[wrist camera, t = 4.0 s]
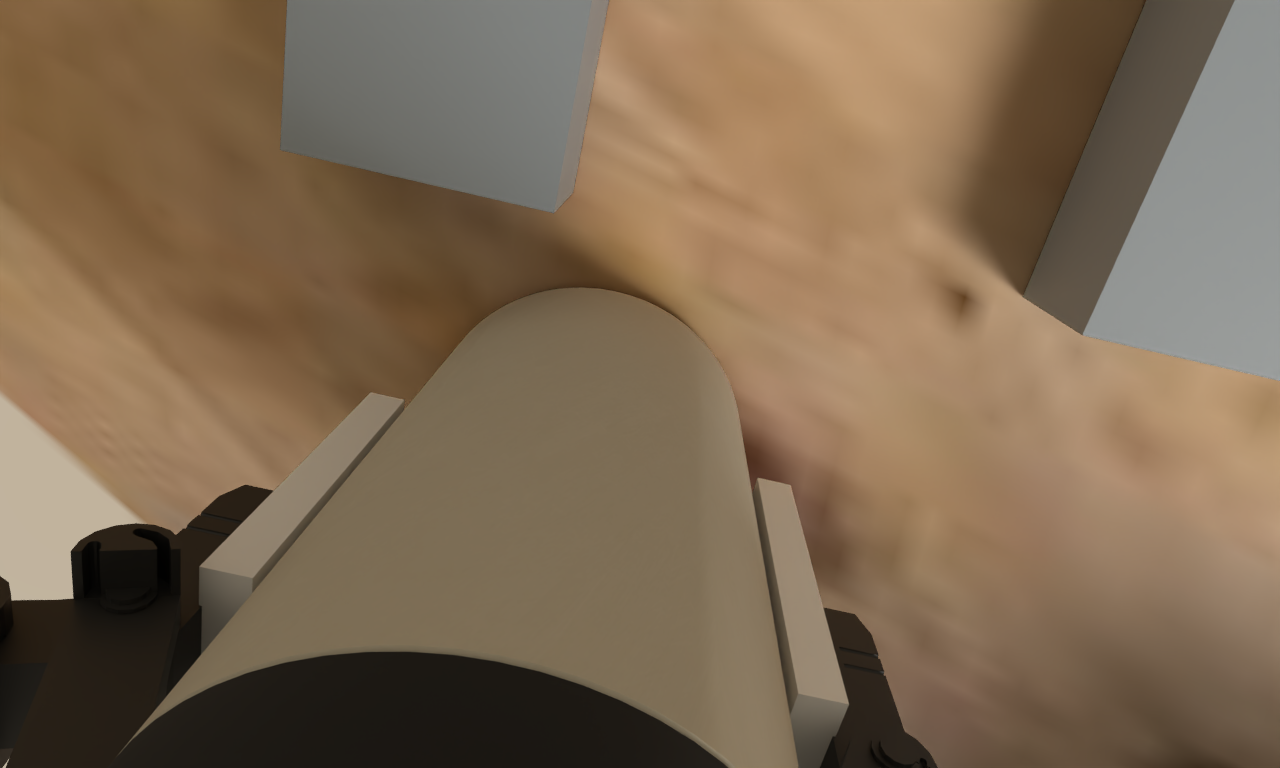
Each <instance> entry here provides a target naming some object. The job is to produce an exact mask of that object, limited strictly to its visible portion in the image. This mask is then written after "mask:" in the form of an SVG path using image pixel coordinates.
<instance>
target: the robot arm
mask: <svg viewBox="0 0 1280 768" xmlns="http://www.w3.org/2000/svg"><path fill="white" fill-rule="evenodd" d="M404 403H405V400H404V399H399V398H395V397H390V396H386V395H381V394H377V393H372V392H370V393H369V394H368V395H367V396H366V398H365V399H364V400H363V401H362V402H361V403H360V404H359V405H358V406H357V407H356V408H355V409H354V410H353V411H352V412H351V413H350V414H349V415H348V416H347V417H346V418H345V419H344V420H343V421H342V422H341V423H340V424H339V425H338V426H337V427H336V428H335V429H334V430H333V431H332V432H331V433H330V434H329V435H328V436H327V437H326V438H325V439H324V440H323V441H322V442H321V443H320V444H319V445H318V446H317V447H316V448H315V449H314V450H313V451H312V452H311V453H310V455H309V456H308V457H307V458H306V459H305V460H304V461H303V462H302V463H301V464H300V465H299V466H298V467H297V468H296V469H295V470H294V471H293V472H292V473H291V474H290V475H289V476H288V477H287V478H286V479H285V480H284V481H283V482H282V483H281V484H280V485H279V486H278V487H277V488H276V489H275V490H274V491H272V490H268V489H263V488H258V487H254V486H249V485H244V486H241V487H239V488H237V489H234V490H232V491H230V492H228V493H225V494H223V495H221V496H219V497H218V498H217V499H215V500H214V501H213V502H212V503H211V504H210V505H209V506H208V507H207V508H206V509H204V510H203V511H202V513H201V515H198V516H197V517H196V518H195V519H193V520H192V521H191V522H190V523H189V524H188V525H187V528H186V529H182V530H181V531H180V532H179V533H178V534H177V535H175V534H174V533H173V532H172V531H171V530H168V529H165V528H162V527H159V526H156V525H148V524H137V523H136V524H127V525H118V526H113V527H109V528H106V529H103V530H99V531H96V532H94V533H92V534H91V535H89V536H87V537H85V538H84V539H82V540H80V541H79V542H78V544H77V545H76V546H75V547H74V548H73V549H72V551H71V564H72V580H73V597H74V599H63V600H20V601H17V600H16V601H11V593H10V588H9V582H7V581H6V580H4V579H3V578H2V577H0V768H2V767H3V766H4V765H5V763H6V762H7V760H8V759H9V761H8V763H7V766H6V768H108V766H109V765H110V764H111V763H112V762H113V760H114V759H115V758H116V757H117V756H118V754H119V753H120V752H121V751H122V749H123V748H124V747H125V746H126V745H127V743H128V742H129V741H130V740H131V739H132V737H133V736H134V735H135V734H136V733H137V731H138V730H139V729H140V728H141V727H142V725H143V724H144V723H145V722H146V721H147V719H148V718H149V717H150V716H151V715H152V713H153V712H154V711H155V710H156V709H157V707H158V706H159V705H160V704H161V702H162V701H163V700H164V699H165V698H166V696H167V695H168V694H169V693H170V692H171V690H172V689H173V688H174V687H175V686H176V684H177V683H178V682H179V681H180V680H181V678H182V677H183V676H184V675H185V674H186V672H187V671H188V670H189V669H190V668H191V666H192V665H193V664H194V663H195V661H196V660H197V659H198V658H199V657H200V655H201V654H202V653H203V652H204V651H205V649H206V648H207V647H208V646H209V645H210V643H211V642H212V641H213V640H214V639H215V637H216V636H217V635H218V634H219V633H220V631H221V630H222V629H223V628H224V627H225V625H226V624H227V623H228V622H229V621H230V619H231V618H232V617H233V616H234V614H235V613H236V612H237V611H238V610H239V608H240V607H241V606H242V605H243V604H244V602H245V601H246V600H247V599H248V598H249V596H250V595H251V594H252V593H253V592H254V590H255V589H256V588H257V587H258V586H259V584H260V583H261V582H262V581H263V580H264V578H265V577H266V576H267V575H268V573H269V572H270V571H271V570H272V569H273V567H274V566H275V565H276V564H277V563H278V561H279V560H280V559H281V558H282V557H283V555H284V554H285V553H286V552H287V551H288V549H289V548H290V547H291V546H292V545H293V543H294V542H295V541H296V540H297V539H298V537H299V536H300V535H301V534H302V533H303V531H304V530H305V529H306V528H307V526H308V525H309V524H310V523H311V522H312V520H313V519H314V518H315V517H316V516H317V514H318V513H319V512H320V511H321V510H322V508H323V507H324V506H325V505H326V504H327V502H328V501H329V500H330V499H331V498H332V496H333V495H334V494H335V493H336V492H337V490H338V489H339V488H340V487H341V485H342V484H343V483H344V482H345V481H346V479H347V478H348V477H349V476H350V475H351V473H352V472H353V471H354V470H355V469H356V467H357V466H358V465H359V464H360V463H361V461H362V460H363V459H364V458H365V457H366V455H367V454H368V453H369V452H370V451H371V449H372V448H373V447H374V446H375V444H376V443H377V442H378V441H379V440H380V438H381V437H382V436H383V435H384V434H385V432H386V431H387V430H388V429H389V428H390V426H391V425H392V424H393V423H394V422H395V420H396V419H397V418H398V417H399V416H400V414H401V413H402V412H403V411H404ZM752 496H753V502H754V507H755V513H756V519H757V525H758V531H759V537H760V543H761V549H762V554H763V560H764V566H765V572H766V578H767V584H768V590H769V596H770V601H771V607H772V613H773V619H774V625H775V631H776V637H777V643H778V649H779V654H780V660H781V666H782V672H783V678H784V684H785V690H786V696H787V701H788V707H789V713H790V719H791V725H792V731H793V737H794V743H795V749H796V754H797V760H798V766H799V768H938V767H937V765H936V763H935V762H934V760H933V758H932V756H931V755H930V753H929V752H928V751H927V750H926V749H925V748H924V747H923V746H922V745H921V744H920V743H919V742H918V741H917V740H916V739H915V738H913V737H912V736H910V735H909V734H907V733H905V732H904V729H903V726H902V723H901V720H900V717H899V714H898V711H897V708H896V705H895V702H894V700H893V697H892V694H891V691H890V688H889V685H888V682H887V679H886V676H884V670H883V667H882V664H881V661H880V659H878V653H877V650H876V647H875V644H874V641H873V638H872V635H871V633H870V632H869V631H868V630H867V629H866V627H865V626H864V625H863V624H862V623H861V621H860V620H859V619H858V618H857V616H856V615H855V614H851V613H846V612H842V611H837V610H832V609H828V608H823V605H822V601H821V597H820V594H819V590H818V586H817V582H816V579H815V575H814V571H813V567H812V564H811V560H810V556H809V552H808V549H807V545H806V541H805V537H804V534H803V530H802V526H801V522H800V519H799V515H798V511H797V507H796V504H795V500H794V496H793V492H792V489H791V485H788V484H784V483H779V482H775V481H770V480H766V479H761V478H757V481H756V484H755V487H754V491H753V494H752Z"/></svg>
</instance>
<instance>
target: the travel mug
mask: <svg viewBox="0 0 1280 768" xmlns="http://www.w3.org/2000/svg"><path fill="white" fill-rule="evenodd" d="M108 768H799V766H798V760H797V754H796V749H795V743H794V737H793V731H792V725H791V719H790V713H789V707H788V701H787V696H786V690H785V684H784V678H783V672H782V666H781V660H780V654H779V649H778V643H777V637H776V631H775V625H774V619H773V613H772V607H771V601H770V596H769V590H768V584H767V578H766V572H765V566H764V560H763V554H762V549H761V543H760V537H759V531H758V525H757V519H756V513H755V507H754V502H753V496H752V490H751V484H750V478H749V472H748V466H747V460H746V454H745V449H744V443H743V437H742V431H741V425H740V419H739V413H738V409H737V404H736V400H735V397H734V394H733V391H732V388H731V385H730V383H729V381H728V378H727V376H726V374H725V372H724V370H723V369H722V367H721V365H720V363H719V362H718V360H717V359H716V357H715V356H714V355H713V353H712V352H711V350H710V349H709V348H708V347H707V345H706V344H705V343H704V342H703V341H702V340H701V339H700V338H699V337H698V336H697V335H696V334H695V333H694V332H693V331H692V330H691V329H690V328H689V327H687V326H686V325H685V324H684V323H682V322H681V321H680V320H678V319H677V318H676V317H674V316H673V315H671V314H670V313H668V312H666V311H665V310H663V309H661V308H659V307H657V306H655V305H653V304H651V303H649V302H647V301H645V300H642V299H639V298H636V297H634V296H631V295H628V294H624V293H620V292H616V291H611V290H605V289H598V288H583V287H578V288H561V289H554V290H548V291H543V292H539V293H535V294H532V295H529V296H526V297H523V298H520V299H518V300H515V301H513V302H511V303H509V304H507V305H505V306H503V307H501V308H500V309H498V310H496V311H495V312H493V313H491V314H490V315H489V316H487V317H486V318H485V319H483V320H482V321H481V322H479V323H478V324H477V325H476V326H475V327H474V328H473V329H472V330H471V331H470V332H469V333H468V334H467V335H466V336H465V337H464V339H463V340H462V341H461V342H460V343H459V344H458V346H457V347H456V348H455V349H454V350H453V352H452V353H451V354H450V355H449V356H448V358H447V359H446V360H445V361H444V363H443V364H442V365H441V366H440V367H439V369H438V370H437V371H436V372H435V373H434V375H433V376H432V377H431V378H430V379H429V381H428V382H427V383H426V384H425V385H424V387H423V388H422V389H421V390H420V391H419V393H418V394H417V395H416V396H415V397H414V399H413V400H412V401H411V402H410V404H409V405H408V406H407V407H406V408H405V410H404V411H403V412H402V413H401V414H400V416H399V417H398V418H397V419H396V420H395V422H394V423H393V424H392V425H391V426H390V428H389V429H388V430H387V431H386V432H385V434H384V435H383V436H382V437H381V438H380V440H379V441H378V442H377V443H376V444H375V446H374V447H373V448H372V449H371V451H370V452H369V453H368V454H367V455H366V457H365V458H364V459H363V460H362V461H361V463H360V464H359V465H358V466H357V467H356V469H355V470H354V471H353V472H352V473H351V475H350V476H349V477H348V478H347V479H346V481H345V482H344V483H343V484H342V485H341V487H340V488H339V489H338V490H337V492H336V493H335V494H334V495H333V496H332V498H331V499H330V500H329V501H328V502H327V504H326V505H325V506H324V507H323V508H322V510H321V511H320V512H319V513H318V514H317V516H316V517H315V518H314V519H313V520H312V522H311V523H310V524H309V525H308V526H307V528H306V529H305V530H304V531H303V533H302V534H301V535H300V536H299V537H298V539H297V540H296V541H295V542H294V543H293V545H292V546H291V547H290V548H289V549H288V551H287V552H286V553H285V554H284V555H283V557H282V558H281V559H280V560H279V561H278V563H277V564H276V565H275V566H274V567H273V569H272V570H271V571H270V572H269V573H268V575H267V576H266V577H265V578H264V580H263V581H262V582H261V583H260V584H259V586H258V587H257V588H256V589H255V590H254V592H253V593H252V594H251V595H250V596H249V598H248V599H247V600H246V601H245V602H244V604H243V605H242V606H241V607H240V608H239V610H238V611H237V612H236V613H235V614H234V616H233V617H232V618H231V619H230V621H229V622H228V623H227V624H226V625H225V627H224V628H223V629H222V630H221V631H220V633H219V634H218V635H217V636H216V637H215V639H214V640H213V641H212V642H211V643H210V645H209V646H208V647H207V648H206V649H205V651H204V652H203V653H202V654H201V655H200V657H199V658H198V659H197V660H196V661H195V663H194V664H193V665H192V666H191V668H190V669H189V670H188V671H187V672H186V674H185V675H184V676H183V677H182V678H181V680H180V681H179V682H178V683H177V684H176V686H175V687H174V688H173V689H172V690H171V692H170V693H169V694H168V695H167V696H166V698H165V699H164V700H163V701H162V702H161V704H160V705H159V706H158V707H157V709H156V710H155V711H154V712H153V713H152V715H151V716H150V717H149V718H148V719H147V721H146V722H145V723H144V724H143V725H142V727H141V728H140V729H139V730H138V731H137V733H136V734H135V735H134V736H133V737H132V739H131V740H130V741H129V742H128V743H127V745H126V746H125V747H124V748H123V749H122V751H121V752H120V753H119V754H118V756H117V757H116V758H115V759H114V760H113V762H112V763H111V764H110V765H109V766H108Z"/></svg>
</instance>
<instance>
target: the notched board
mask: <svg viewBox="0 0 1280 768" xmlns="http://www.w3.org/2000/svg"><path fill="white" fill-rule="evenodd" d="M608 3H609V0H287V15H286V36H285V58H284V79H283V100H282V121H281V142H280V150H282V151H286V152H291V153H295V154H299V155H304V156H308V157H312V158H317V159H321V160H325V161H330V162H334V163H338V164H343V165H347V166H351V167H356V168H360V169H364V170H369V171H373V172H377V173H382V174H386V175H390V176H395V177H399V178H403V179H408V180H412V181H416V182H421V183H425V184H429V185H434V186H438V187H442V188H447V189H451V190H455V191H460V192H464V193H468V194H473V195H477V196H481V197H486V198H490V199H494V200H499V201H503V202H507V203H512V204H516V205H520V206H525V207H529V208H533V209H538V210H542V211H546V212H551V213H555V212H556V211H557V210H558V208H559V207H560V206H561V205H562V204H563V203H564V202H565V201H566V200H567V199H568V198H569V197H570V196H571V195H572V193H573V191H574V186H575V181H576V175H577V170H578V164H579V159H580V154H581V148H582V143H583V138H584V132H585V127H586V121H587V116H588V111H589V105H590V100H591V94H592V89H593V84H594V78H595V73H596V68H597V62H598V57H599V51H600V46H601V41H602V35H603V30H604V24H605V19H606V14H607V8H608ZM1023 297H1024V298H1025V299H1027V300H1028V301H1030V302H1031V303H1033V304H1035V305H1036V306H1038V307H1039V308H1041V309H1042V310H1044V311H1045V312H1047V313H1049V314H1050V315H1052V316H1053V317H1055V318H1056V319H1058V320H1059V321H1061V322H1062V323H1064V324H1066V325H1067V326H1069V327H1070V328H1072V329H1073V330H1075V331H1076V332H1078V333H1080V334H1081V335H1083V336H1088V337H1092V338H1096V339H1101V340H1105V341H1109V342H1114V343H1118V344H1122V345H1127V346H1131V347H1135V348H1140V349H1144V350H1148V351H1153V352H1157V353H1161V354H1166V355H1170V356H1174V357H1179V358H1183V359H1187V360H1192V361H1196V362H1200V363H1205V364H1209V365H1213V366H1218V367H1222V368H1226V369H1231V370H1235V371H1239V372H1244V373H1248V374H1252V375H1257V376H1261V377H1265V378H1270V379H1274V380H1278V381H1280V0H1146V2H1145V5H1144V7H1143V9H1142V12H1141V14H1140V17H1139V19H1138V21H1137V24H1136V26H1135V29H1134V31H1133V33H1132V36H1131V38H1130V41H1129V43H1128V45H1127V48H1126V50H1125V53H1124V55H1123V57H1122V60H1121V62H1120V65H1119V67H1118V69H1117V72H1116V74H1115V77H1114V79H1113V81H1112V84H1111V86H1110V89H1109V91H1108V93H1107V96H1106V98H1105V101H1104V103H1103V105H1102V108H1101V110H1100V113H1099V115H1098V117H1097V120H1096V122H1095V125H1094V127H1093V129H1092V132H1091V134H1090V137H1089V139H1088V141H1087V144H1086V146H1085V149H1084V151H1083V153H1082V156H1081V158H1080V161H1079V163H1078V165H1077V168H1076V170H1075V173H1074V175H1073V177H1072V180H1071V182H1070V185H1069V187H1068V189H1067V192H1066V194H1065V197H1064V199H1063V201H1062V204H1061V206H1060V209H1059V211H1058V213H1057V216H1056V218H1055V221H1054V223H1053V225H1052V228H1051V230H1050V233H1049V235H1048V237H1047V240H1046V242H1045V245H1044V247H1043V249H1042V252H1041V254H1040V257H1039V259H1038V261H1037V264H1036V266H1035V269H1034V271H1033V273H1032V276H1031V278H1030V281H1029V283H1028V285H1027V288H1026V290H1025V293H1024V295H1023Z"/></svg>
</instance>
